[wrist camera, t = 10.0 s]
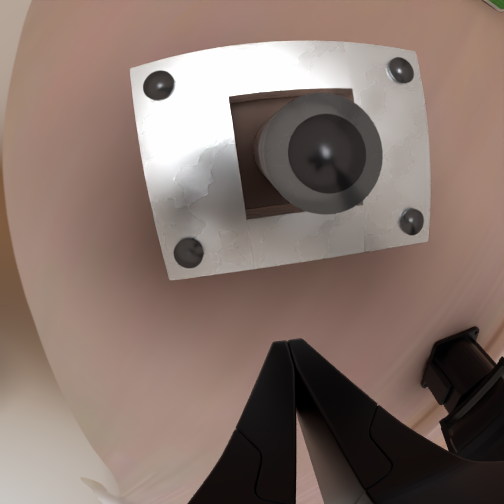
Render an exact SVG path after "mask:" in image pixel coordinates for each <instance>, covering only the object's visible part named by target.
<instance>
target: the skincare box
mask: <svg viewBox="0 0 504 504" xmlns="http://www.w3.org/2000/svg"><path fill="white" fill-rule="evenodd" d="M483 1H485V2H486V3H488V4H489V5H490V6H492V7H493V8H494V9H496V10H497V11H498V12H503V11H504V0H483Z"/></svg>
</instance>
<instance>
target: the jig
mask: <svg viewBox="0 0 504 504" xmlns="http://www.w3.org/2000/svg"><path fill="white" fill-rule="evenodd" d="M130 76H131V86H132V95H133V103H134V111H135V118H136V125H137V132H138V139H139V145H140V151H141V157H142V163H143V168H144V173H145V179H146V184H147V189H148V194H149V199H150V203H151V208H152V212H153V217H154V221H155V226H156V230H157V234H158V238H159V242H160V246H161V250H162V254H163V258H164V262H165V265H166V269H167V273H168V276H169V280H170V281H172V280H179V279H187V278H194V277H202V276H209V275H216V274H224V273H231V272H238V271H245V270H252V269H259V268H266V267H272V266H279V265H286V264H293V263H299V262H306V261H312V260H319V259H325V258H332V257H338V256H344V255H351V254H357V253H363V252H369V251H375V250H381V249H387V248H393V247H399V246H405V245H411V244H417V243H422V242H428V236H429V221H430V153H429V137H428V126H427V116H426V108H425V101H424V94H423V87H422V82H421V76H420V71H419V66H418V61H417V56H416V52H415V51H410V50H405V49H399V48H393V47H387V46H380V45H372V44H363V43H352V42H337V41H277V42H262V43H251V44H242V45H233V46H226V47H219V48H213V49H207V50H202V51H196V52H191V53H187V54H182V55H178V56H173V57H169V58H165V59H161V60H158V61H154V62H150V63H147V64H143V65H140V66H137V67H134V68H131V69H130ZM311 93H331V94H336V95H339V96H342V97H345V98H347V99H349V100H351V101H352V102H354V103H355V104H357V105H358V106H359V107H361V108H362V109H363V110H364V111H365V112H366V113H367V114H368V116H369V117H370V118H371V120H372V121H373V123H374V125H375V126H376V128H377V131H378V133H379V136H380V139H381V143H382V150H383V160H382V168H381V172H380V175H379V178H378V181H377V183H376V184H375V186H374V188H373V189H372V191H371V192H370V194H369V195H368V196H367V197H366V198H365V199H364V200H363V201H362V202H360V203H359V204H358V205H356V206H355V207H353V208H351V209H349V210H347V211H344V212H341V213H336V214H328V215H323V214H315V213H310V212H307V211H304V210H302V209H300V208H298V207H296V206H294V205H293V204H291V203H290V204H282V205H275V206H267V207H260V208H253V209H246V210H245V203H244V197H243V190H242V183H241V176H240V170H239V163H238V156H237V149H236V143H235V136H234V129H233V122H232V116H231V109H230V103H235V102H242V101H250V100H259V99H269V98H280V97H293V96H303V95H307V94H311Z"/></svg>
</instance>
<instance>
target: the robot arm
mask: <svg viewBox="0 0 504 504" xmlns="http://www.w3.org/2000/svg"><path fill="white" fill-rule="evenodd" d="M478 333H479V329H478V328H477V327H474V328H472V329H469V330H467V331H465V332H462V333H460V334H457V335H455V336H452V337H450V338H447V339H445V340H442V341H439V342H437V343H436V344H435V345H434V347H433V350H432V354H431V357H430V360H429V363H428V366H427V369H426V372H425V375H424V377H423V380H422V383H421V386H422V388H426V387H428V388H429V389H430V391H431V392H432V394H433V395H434V397H435V399H436V400H437V402H438V403H439V404H440V405H444V407H445V408H446V410H447V411H448V413H449V414H448V415H447V416H446V417H445V418H443V419H442V420H441V421H439V423H440V425H441V430H442V433H443V436H444V439H445V441H446V444H447V447H448V450H449V451H447V450H445V449H444V448H442V447H440V446H438V445H437V444H435V443H433V442H431V441H430V440H428V439H426V438H425V437H423V436H421V435H420V434H418V433H416V432H415V431H413V430H412V429H410V428H409V427H407V426H406V425H404V424H403V423H401V422H400V421H399V420H397V419H396V418H395V417H394V416H392V415H391V414H390V413H388V412H387V411H386V410H385V409H384V408H382V407H381V406H380V405H378V406H377V403H376V402H375V401H374V400H373V399H371V398H370V397H369V396H368V395H367V394H366V393H364V392H363V391H362V390H361V389H360V388H358V387H357V386H356V385H355V384H354V383H353V382H351V381H350V380H349V379H348V378H347V377H346V376H344V375H343V374H342V373H341V372H340V371H339V370H337V369H336V368H335V367H334V366H333V365H332V364H331V363H329V362H328V361H327V360H326V359H325V358H324V357H323V356H321V355H320V354H319V353H318V352H317V351H316V350H315V349H313V348H312V347H311V346H310V345H309V344H308V343H307V342H306V341H304V340H303V339H301V338H299V339H292V340H289V341H288V342H287V341H285V340H284V341H276V342H273V343H272V345H271V347H270V350H269V352H268V355H267V357H266V359H265V362H264V364H263V367H262V369H261V371H260V374H259V376H258V378H257V381H256V383H255V385H254V388H253V390H252V392H251V395H250V397H249V399H248V401H247V404H246V406H245V408H244V410H243V413H242V415H241V417H240V419H239V421H238V424H237V426H236V430H234V432H233V434H232V436H231V438H230V440H229V442H228V444H227V446H226V448H225V450H224V452H223V454H222V456H221V457H220V459H219V460H218V462H217V464H216V465H215V467H214V468H213V470H212V471H211V473H210V474H209V476H208V477H207V478H206V480H205V481H204V482H203V484H202V485H201V486H200V488H199V489H198V490H197V492H196V493H195V494H194V496H193V497H192V498H191V500H190V501H189V502H188V504H296V413H297V416H298V420H299V423H300V426H301V430H302V433H303V436H304V439H305V443H306V446H307V449H308V452H309V456H310V459H311V462H312V465H313V469H314V472H315V475H316V478H317V481H318V485H319V488H320V491H321V494H322V498H323V501H324V504H504V358H503V357H501V358H500V359H499V362H498V363H497V364H496V363H495V362H494V361H493V360H492V359H491V357H490V356H489V355H488V354H487V353H486V352H485V351H484V350H483V349H482V347H481V346H480V345H479V344H478V343H477V342H476V339H477V336H478Z"/></svg>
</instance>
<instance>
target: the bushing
mask: <svg viewBox="0 0 504 504" xmlns="http://www.w3.org/2000/svg"><path fill="white" fill-rule="evenodd" d="M253 151H254V158H255V161H256V164H257V166H258V168H259V169H260V171H261V172H262V173H263V175H264V176H265V177H266V178H267V179H268V180H269V181H270V182H271V184H272V185H273V186H274V187H275V188H276V189H277V190H278V192H279V193H280V194H281V195H282V196H283V197H284V198H285V199H286V200H287V201H288V202H290V203H291V204H293V205H294V206H296V207H298V208H300V209H302V210H304V211H307V212H310V213H315V214H323V215H328V214H336V213H341V212H344V211H347V210H349V209H351V208H353V207H355V206H356V205H358V204H359V203H360V202H362V201H363V200H364V199H365V198H366V197H367V196H368V195H369V194H370V192H371V191H372V189H373V188H374V186H375V184H376V183H377V181H378V178H379V175H380V172H381V168H382V160H383V150H382V143H381V139H380V136H379V133H378V131H377V128H376V126H375V125H374V123H373V121H372V120H371V118H370V117H369V116H368V114H367V113H366V112H365V111H364V110H363V109H362V108H361V107H359V106H358V105H357V104H355V103H354V102H352V101H351V100H349V99H347V98H345V97H342V96H339V95H336V94H331V93H311V94H307V95H303V96H301V97H298V98H296V99H294V100H292V101H291V102H289V103H288V104H287V105H285V106H284V107H283V108H282V109H280V110H279V111H278V112H277V113H276V114H275V115H273V116H272V117H271V118H270V119H269V120H268V121H267V122H265V123H264V124H263V126H262V127H261V128H260V129H259V131H258V133H257V135H256V137H255V141H254V148H253Z"/></svg>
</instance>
